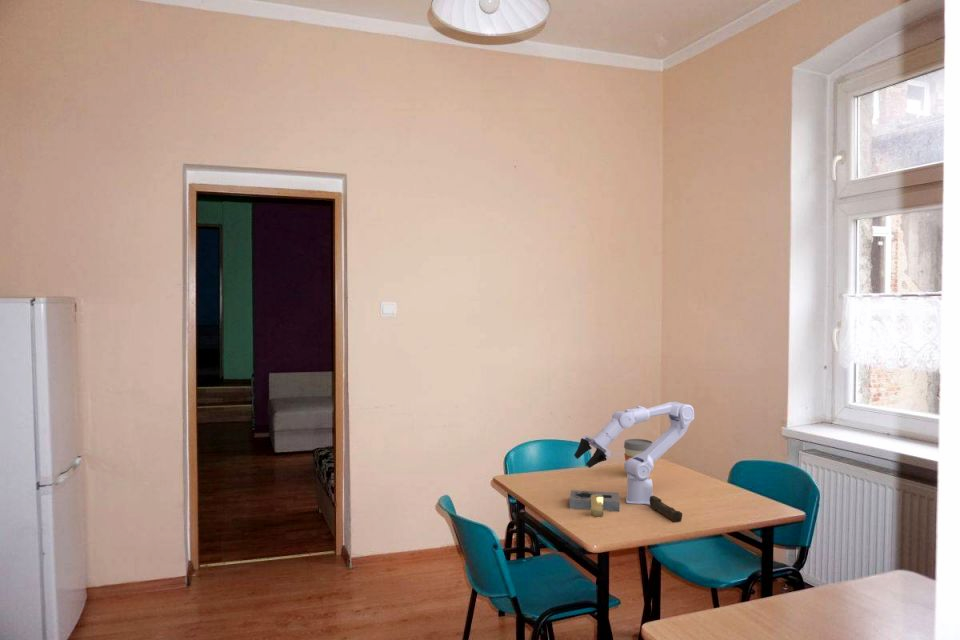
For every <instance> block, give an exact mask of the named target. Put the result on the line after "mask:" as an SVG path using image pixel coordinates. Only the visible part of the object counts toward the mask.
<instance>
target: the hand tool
mask: <svg viewBox="0 0 960 640" xmlns="http://www.w3.org/2000/svg"><path fill="white" fill-rule="evenodd" d="M649 501H650V504H649V506H650V508H651V509H652V510H653V511H654V512H655V511H656V512H659V513H661V514H662V515H664V516H665V517H667V518H668V519H670V520H671V521H672V522H673V523H680V522H681V521H682V519H683V513H682V512H681V511H680V510H676V509H675V508H674V507H671V506H669V505H668V504H666V503H664V502H663V501H662V499H661V498H659V497H657V496H655V495H653V496H651V497H650V500H649Z"/></svg>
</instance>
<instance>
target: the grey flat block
mask: <svg viewBox="0 0 960 640" xmlns="http://www.w3.org/2000/svg"><path fill="white" fill-rule="evenodd" d="M569 493H570V494H569V509H570V508H574V509H573V510H584V509H589V510H588V511H591V495H593V494H599V495H603V510H607V511H606V512H620V506H621V505H620V495H619V492H616V491H615V492H614V491H611V492H610V491H593V490H576V489H572V490H571V489H570V492H569Z"/></svg>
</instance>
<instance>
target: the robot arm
mask: <svg viewBox="0 0 960 640" xmlns="http://www.w3.org/2000/svg"><path fill="white" fill-rule="evenodd" d="M664 415H668V418H669V422H670V427H669V428H668V429H666V431H664V433H662V435H660V436H659V437H658V438H657V439H655V441H653V444H652V445H651V446H650V447H649V448H647V449H646V450H645V451H644V452H643V453H641V454H637V455H635V456H634V457H632V458H629V459H628V460H626V462H624V466H623V467H624V468H623V469H624V471H625V472H626V473H627V474H626V478H627V480H626V481H627V484H626V486H627V487H626V489H627V492H626V496H625V500H626V503H627V504H636V505H637V504H638V505H639V504H640V505H650V501H649V500H650V497H651V496H654V495H653V494H654V493H653V479H652V478H649V477H650V474H651V472H653V470H654V467H655V466H654V464H655V462H656V461H658V460H659V458H661V457H662V456H663V455H664V454H665V453H666V452H667V451H668V450H670V448H671V447H673V445H675V444H676V443H677V441H679V440H680V439H681V438H682V437H683V436H684V435H685V434H686V432H687V431H688V428H689V426H690V424H691V422H693V421H694V420H695V410H694V408H693V406H692V405H691V404H685V403H681V402H678V401H671V402H670V401H669V402H668V401H667V402H665V403H663V404H659V405H655V406H651V407H649V408H646V407H644V406H641V405H637V406H636V408H631V409H630V408H626V409H625V410H624V411H623V410H616V412H613V413H612V415H611V419H610V420H609V421H608V423H606V425H605V426H604V427H602V429H601V430H599V432H598V433H597V434H596V435H595V436H594V437H593V436H592V437H591V436H589V435H587V434H585V435H584V436H583V437H581V438H580V441H579V445H578V448H577V449H576V451H575V453H574V455H573V456H574V458H575V459H577V460H578V459H580V458H581V457H582V456H583V455H584V454H585V453H587V452H588V451H590V450H592V448H595V451H594V453H593V455H591V457H590V458H589V459H588V460H587V462H586V463H585V465H586V466H587V468H588V469H591V468H592V467H594V466H595V465H597V464H598V463H601V462H605V461H607V459H608V458H610V456H611V455H612V452H611V451H610V450H609V449H608V446H609V445H610V444H611V443H612V442H613V441H614V440H615V439H616V438H617V437H618V436H619V435H620V434H621V433H622V431H624V430H625V428H626V429H629V428H631V427H632V426H633V425H636V424H640V423H644V422H647V421H648V420H649V418H652V417H658V416H664ZM648 476H649V477H648Z"/></svg>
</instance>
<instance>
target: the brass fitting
mask: <svg viewBox="0 0 960 640" xmlns="http://www.w3.org/2000/svg"><path fill="white" fill-rule="evenodd" d="M592 516H593V517H592ZM590 517H592V518H597V517H600V518H604V511H603V495H599V494H593V495H591V510H590Z"/></svg>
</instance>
